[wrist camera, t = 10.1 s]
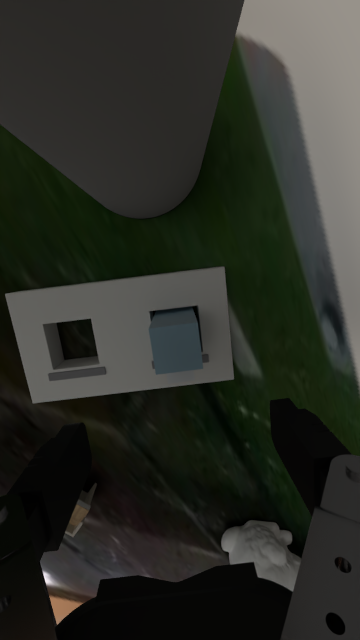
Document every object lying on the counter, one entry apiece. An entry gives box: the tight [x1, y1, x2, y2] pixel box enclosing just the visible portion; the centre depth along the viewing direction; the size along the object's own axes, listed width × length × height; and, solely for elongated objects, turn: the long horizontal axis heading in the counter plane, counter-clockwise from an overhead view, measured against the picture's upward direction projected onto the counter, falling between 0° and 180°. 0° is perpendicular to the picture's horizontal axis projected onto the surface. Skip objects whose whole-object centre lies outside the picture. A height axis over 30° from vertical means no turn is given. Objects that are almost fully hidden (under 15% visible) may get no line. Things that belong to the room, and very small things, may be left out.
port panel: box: [5, 266, 234, 403], centre depth 30 cm, size 12×22×3 cm, turn 97°
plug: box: [149, 306, 203, 384], centre depth 27 cm, size 5×4×9 cm
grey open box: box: [65, 483, 97, 537], centre depth 31 cm, size 4×7×8 cm, turn 56°
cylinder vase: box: [0, 0, 244, 219], centre depth 15 cm, size 12×12×25 cm
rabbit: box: [221, 520, 301, 592], centre depth 32 cm, size 12×9×12 cm
